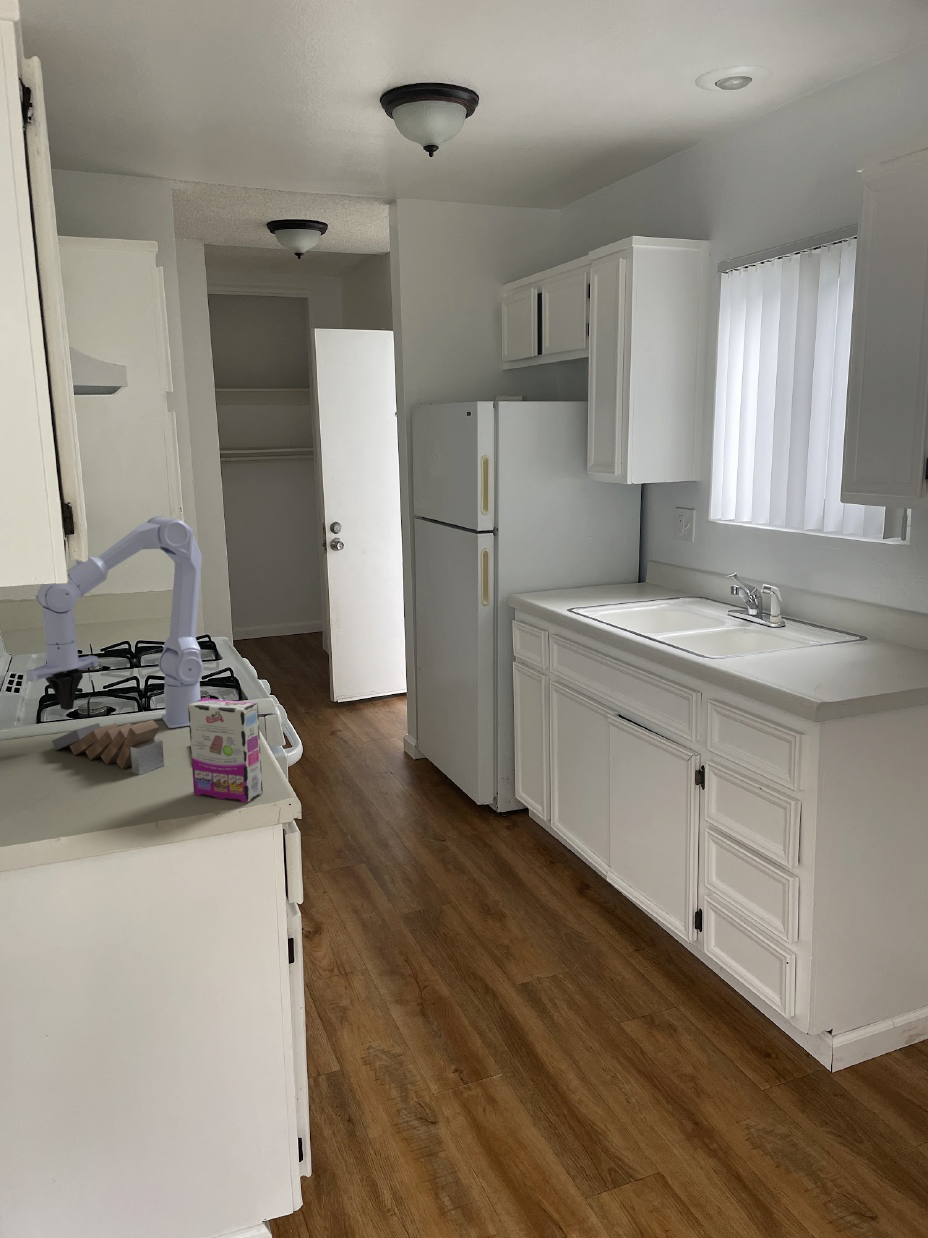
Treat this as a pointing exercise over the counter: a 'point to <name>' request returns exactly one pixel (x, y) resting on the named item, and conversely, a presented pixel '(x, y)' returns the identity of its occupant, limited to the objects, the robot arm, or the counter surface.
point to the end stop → (147, 756)
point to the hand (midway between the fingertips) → (67, 708)
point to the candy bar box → (225, 749)
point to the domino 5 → (136, 740)
